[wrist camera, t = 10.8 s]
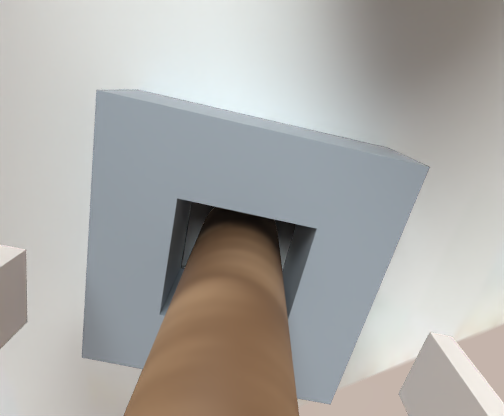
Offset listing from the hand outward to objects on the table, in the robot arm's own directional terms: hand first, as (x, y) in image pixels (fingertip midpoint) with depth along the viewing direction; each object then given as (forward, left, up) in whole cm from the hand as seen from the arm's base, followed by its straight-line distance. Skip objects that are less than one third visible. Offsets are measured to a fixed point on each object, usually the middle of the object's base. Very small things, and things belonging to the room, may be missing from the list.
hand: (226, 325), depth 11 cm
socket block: (0, 0, -7) cm, 7 cm away
